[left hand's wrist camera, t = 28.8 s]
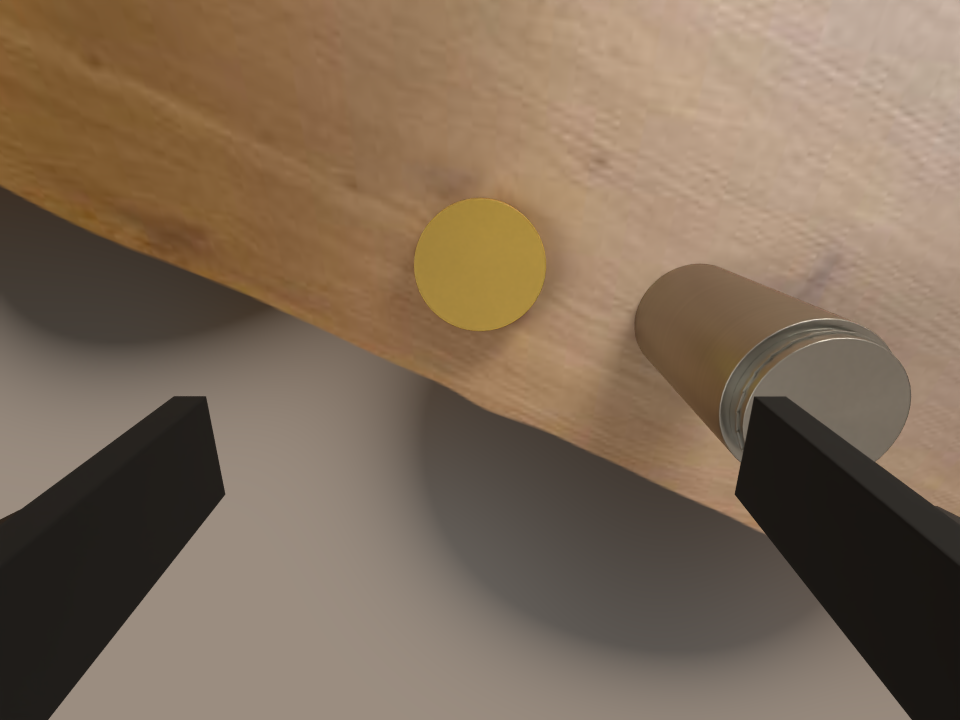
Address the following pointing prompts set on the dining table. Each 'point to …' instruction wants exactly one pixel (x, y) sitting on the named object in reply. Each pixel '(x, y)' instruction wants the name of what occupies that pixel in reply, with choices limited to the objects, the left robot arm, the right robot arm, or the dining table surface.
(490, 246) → the lid
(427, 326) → the dining table surface
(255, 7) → the dining table surface
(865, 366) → the jar
